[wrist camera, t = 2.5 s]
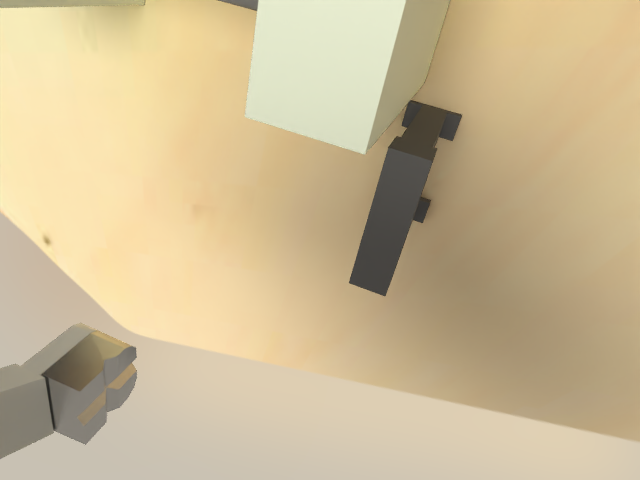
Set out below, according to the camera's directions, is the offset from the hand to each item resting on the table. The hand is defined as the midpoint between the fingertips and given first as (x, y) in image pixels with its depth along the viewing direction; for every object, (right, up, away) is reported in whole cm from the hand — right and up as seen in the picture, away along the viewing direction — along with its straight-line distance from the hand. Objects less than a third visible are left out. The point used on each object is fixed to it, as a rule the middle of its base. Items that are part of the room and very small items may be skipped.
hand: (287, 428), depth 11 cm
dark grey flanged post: (+7, +9, +17) cm, 20 cm away
